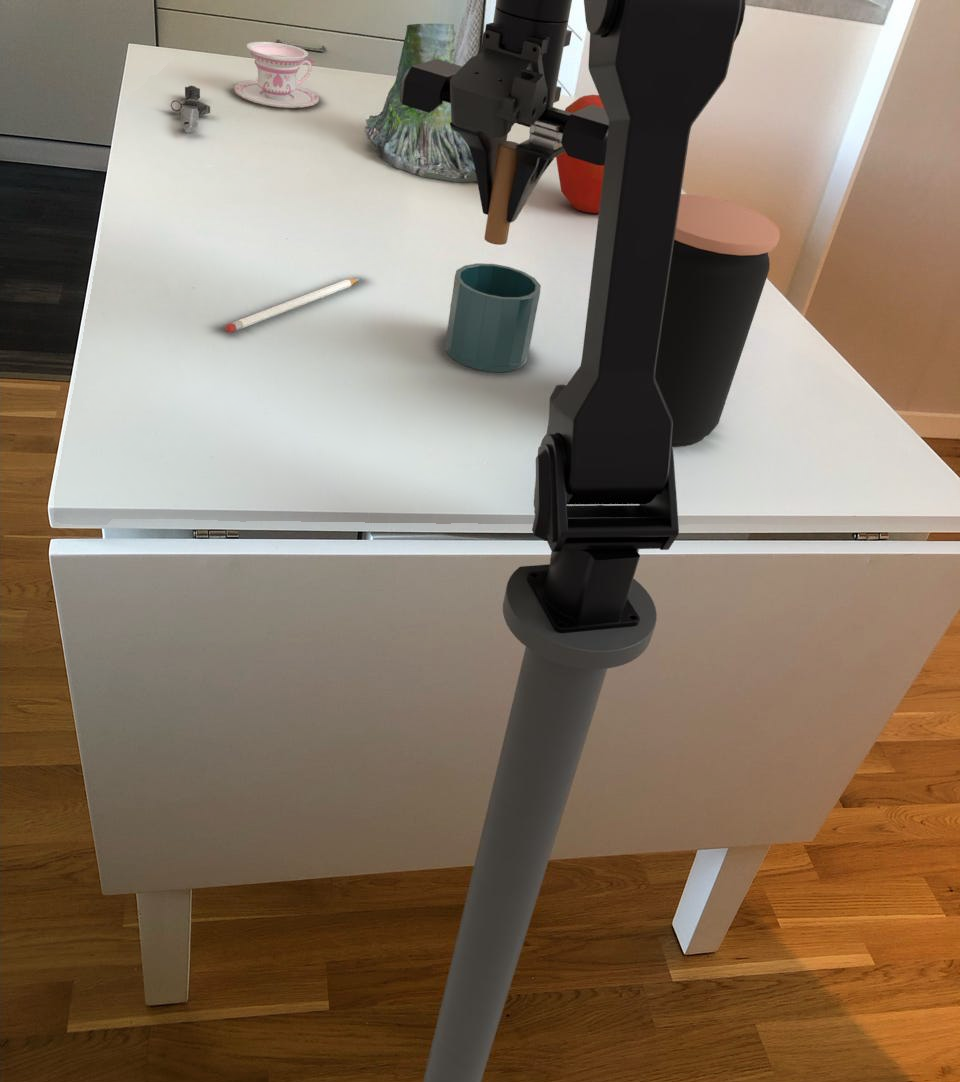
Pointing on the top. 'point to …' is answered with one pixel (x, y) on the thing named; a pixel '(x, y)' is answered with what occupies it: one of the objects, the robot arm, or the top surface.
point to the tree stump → (421, 117)
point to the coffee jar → (709, 308)
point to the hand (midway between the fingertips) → (499, 217)
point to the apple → (581, 170)
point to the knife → (191, 108)
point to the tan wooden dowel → (501, 193)
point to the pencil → (289, 305)
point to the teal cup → (492, 317)
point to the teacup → (277, 76)
